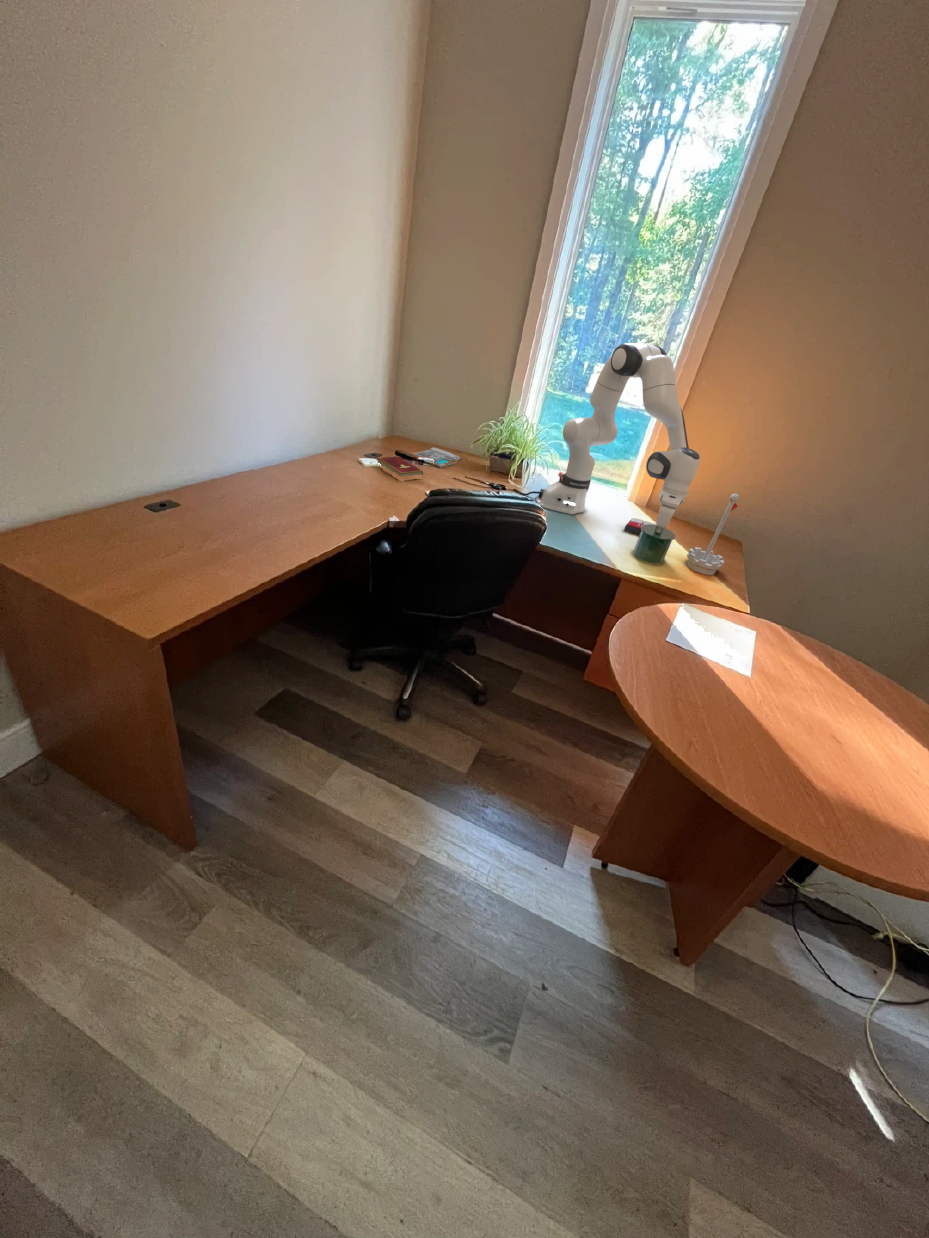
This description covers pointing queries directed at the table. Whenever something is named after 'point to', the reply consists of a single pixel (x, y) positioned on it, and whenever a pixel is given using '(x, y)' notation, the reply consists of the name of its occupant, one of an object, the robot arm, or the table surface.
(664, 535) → the tin lid
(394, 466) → the hardcover book
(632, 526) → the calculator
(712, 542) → the flag stand
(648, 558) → the tin
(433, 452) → the office telephone
